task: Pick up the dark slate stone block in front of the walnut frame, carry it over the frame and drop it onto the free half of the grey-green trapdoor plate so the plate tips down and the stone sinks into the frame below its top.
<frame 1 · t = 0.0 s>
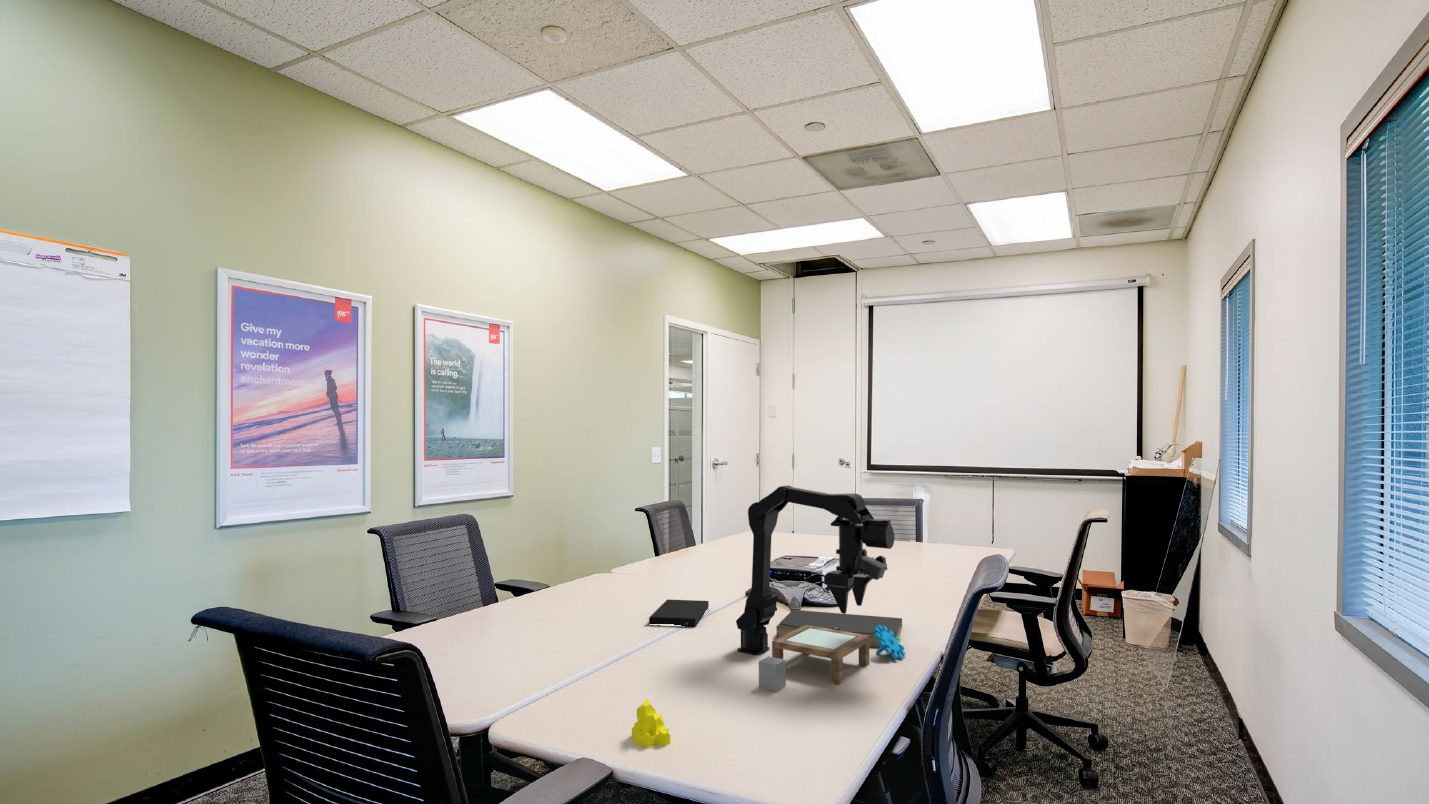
hand: (851, 609, 172), 15 cm above the table, tool pointing down, fingers open, 9 cm apart
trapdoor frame: (821, 666, 174), on the table
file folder: (840, 635, 204), on the table
yellow lumpy pyramid: (650, 741, 133), on the table
stone block: (772, 687, 160), on the table
trapdoor: (821, 640, 174), point 7 cm above the table, hinge at 0.0°
gear: (890, 657, 182), on the table
external hard drive: (680, 618, 222), on the table
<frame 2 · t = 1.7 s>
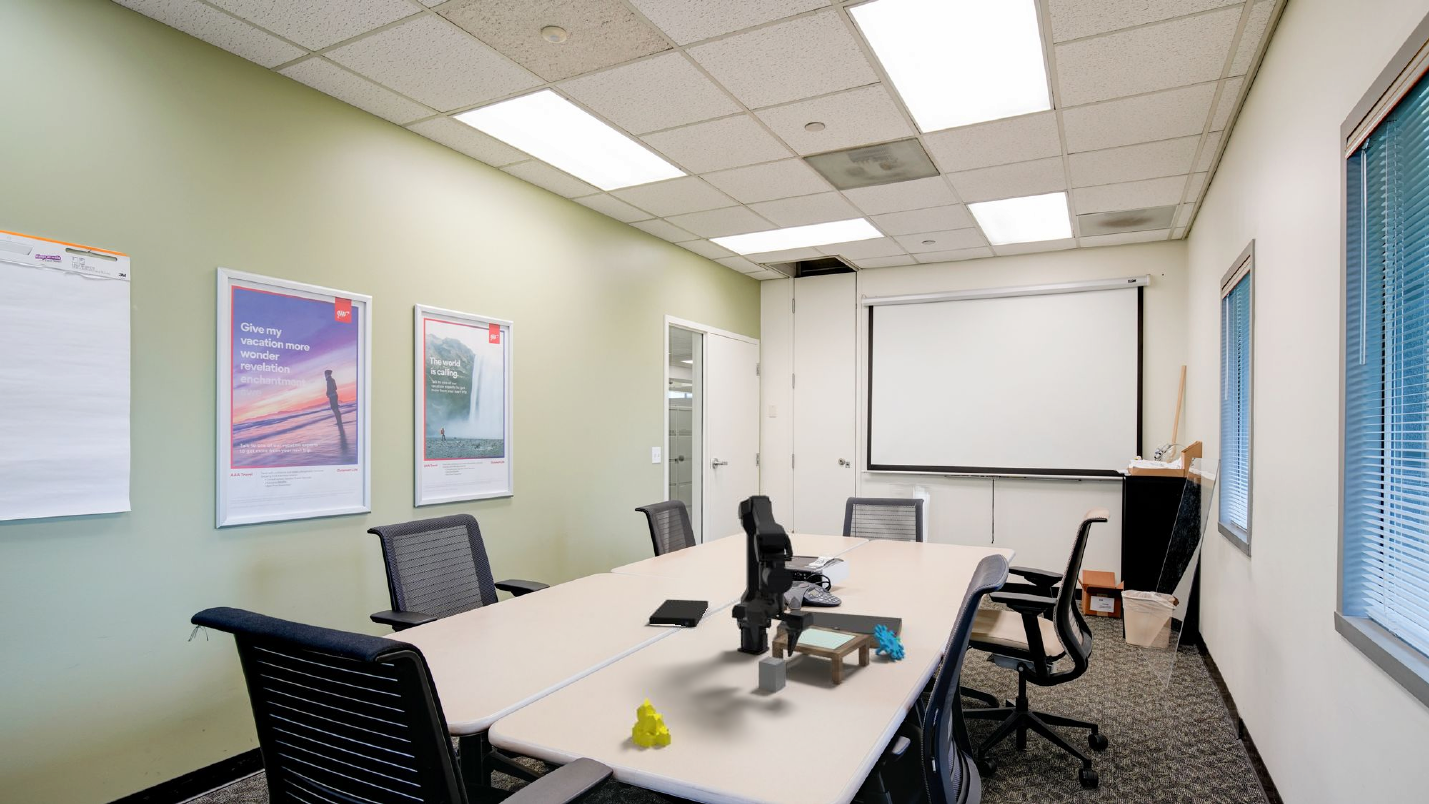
hand: (772, 653, 161), 8 cm above the table, tool pointing down, fingers open, 9 cm apart
nothing on the table moved.
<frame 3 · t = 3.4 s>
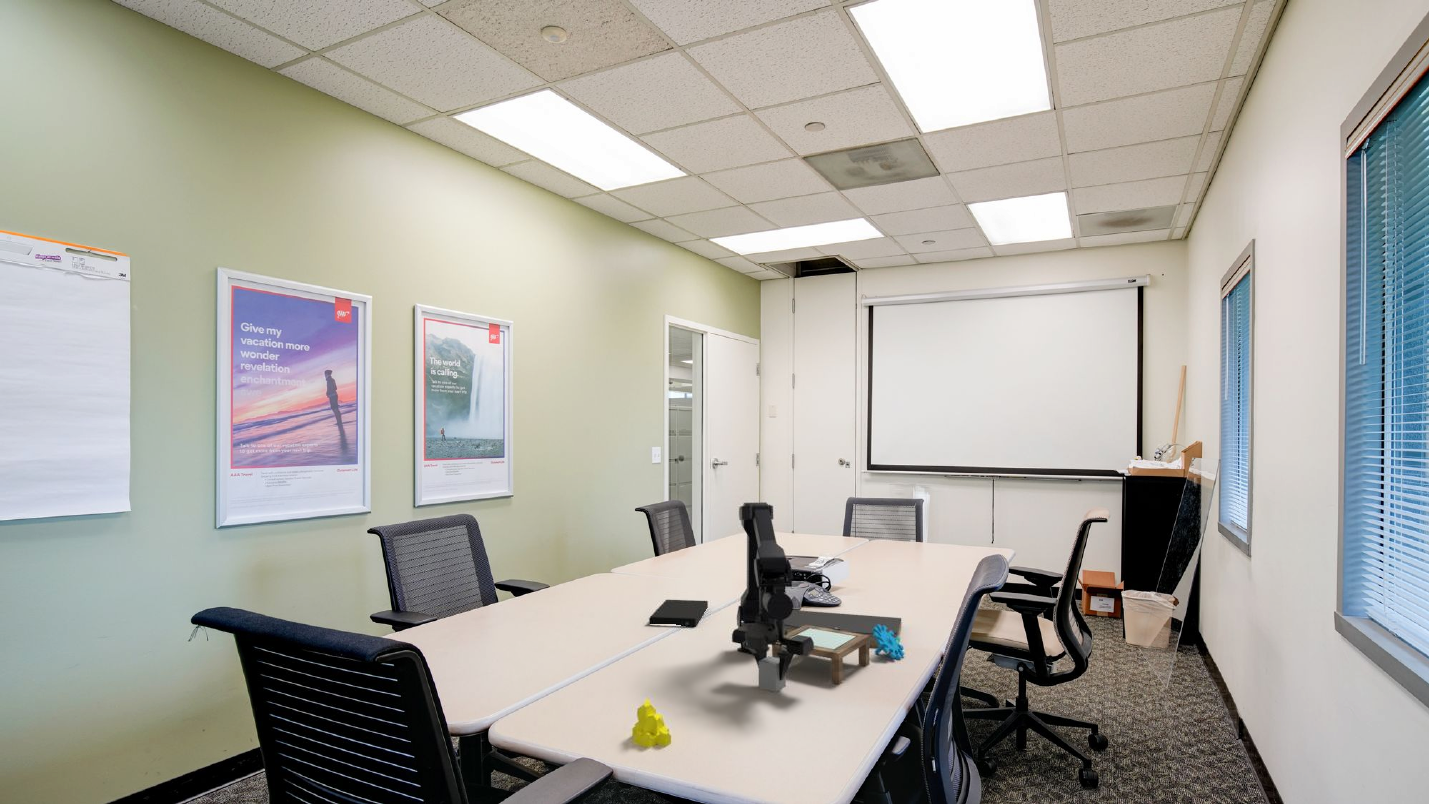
hand: (772, 677, 160), 2 cm above the table, tool pointing down, fingers closed on stone block, 4 cm apart
stone block: (772, 687, 160), on the table, touching gripper
everything else where it was.
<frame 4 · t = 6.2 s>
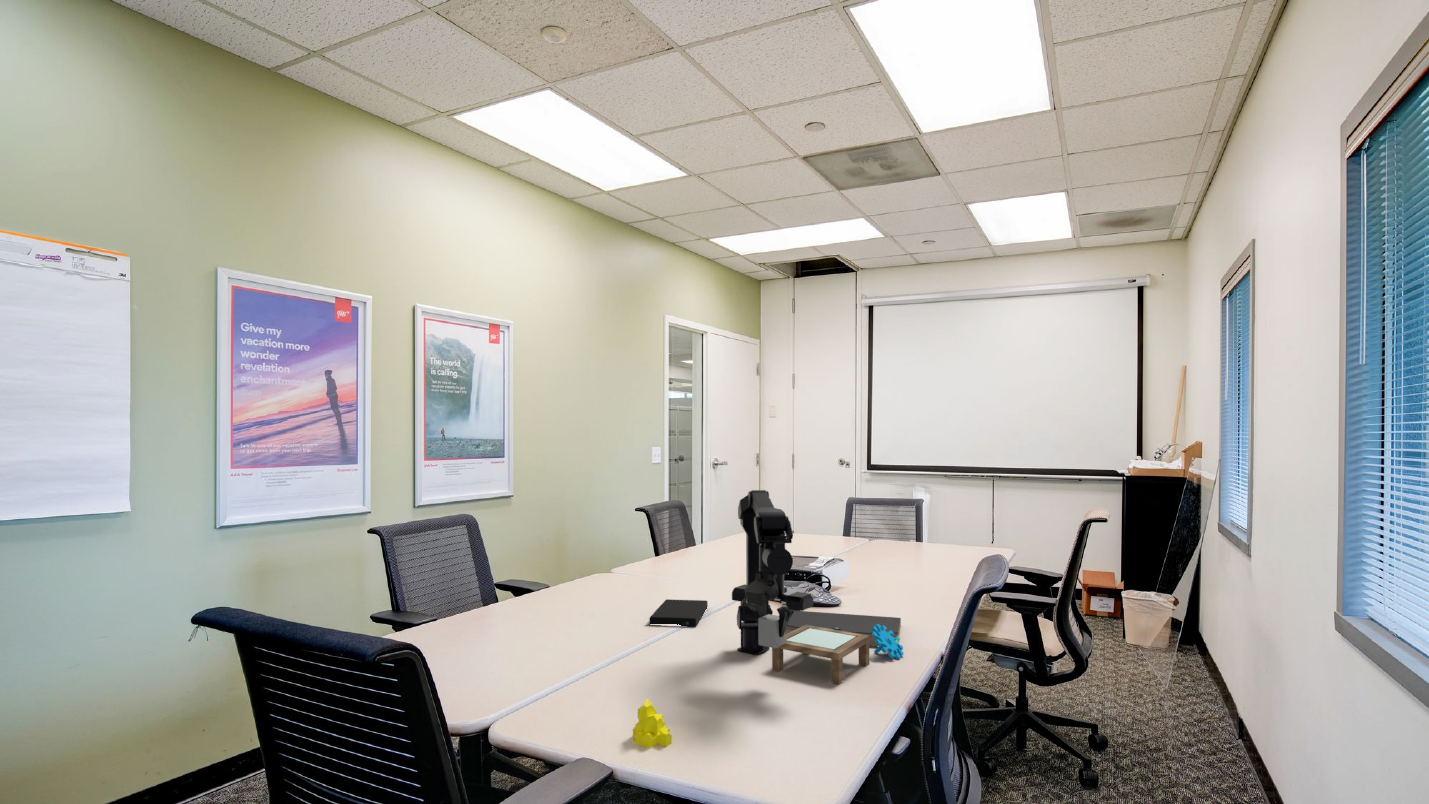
hand: (772, 635, 161), 12 cm above the table, tool pointing down, fingers closed on stone block, 4 cm apart
stone block: (772, 644, 160), point 10 cm above the table, touching gripper
everything else where it was.
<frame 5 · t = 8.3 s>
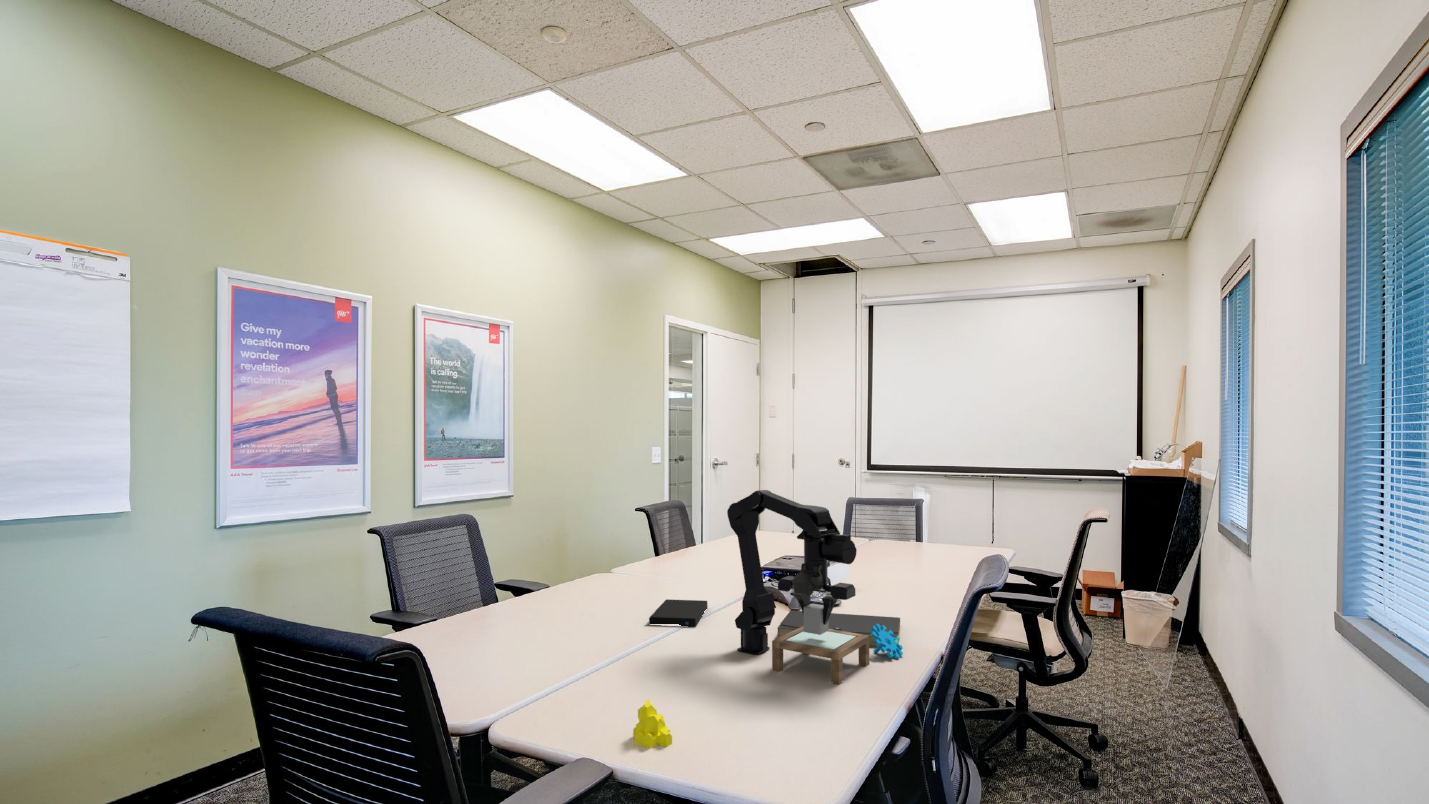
hand: (816, 622, 172), 11 cm above the table, tool pointing down, fingers closed on stone block, 4 cm apart
stone block: (816, 631, 172), point 9 cm above the table, touching gripper
everything else where it was.
when the fingers open (10 cm above the table, at t = 9.5 s): stone block drops 5 cm, resting on trapdoor.
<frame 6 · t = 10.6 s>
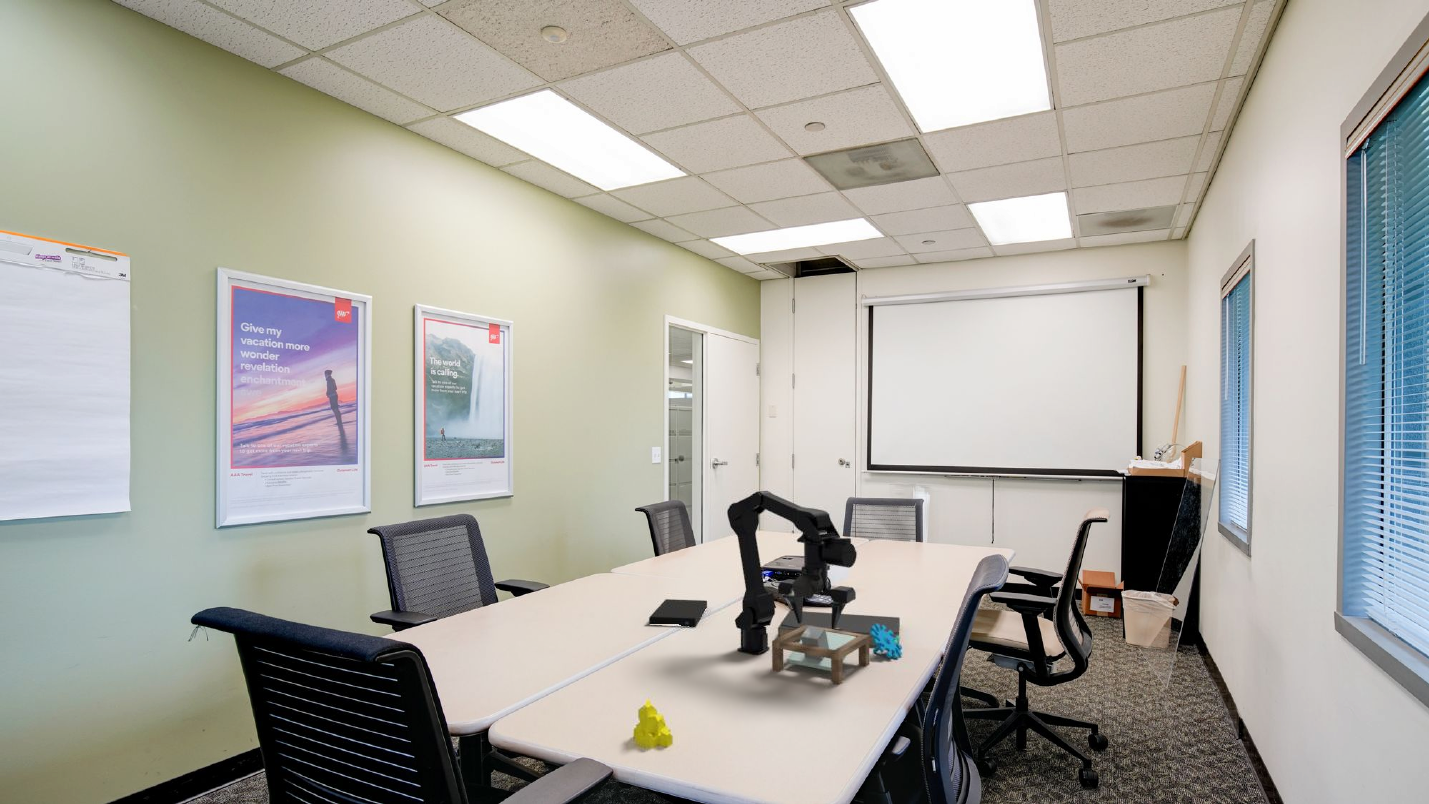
hand: (816, 626, 172), 10 cm above the table, tool pointing down, fingers open, 9 cm apart
stone block: (817, 653, 172), point 4 cm above the table, tilted 21°, touching trapdoor
trapdoor: (822, 649, 174), point 4 cm above the table, hinge at -20.9°, touching stone block
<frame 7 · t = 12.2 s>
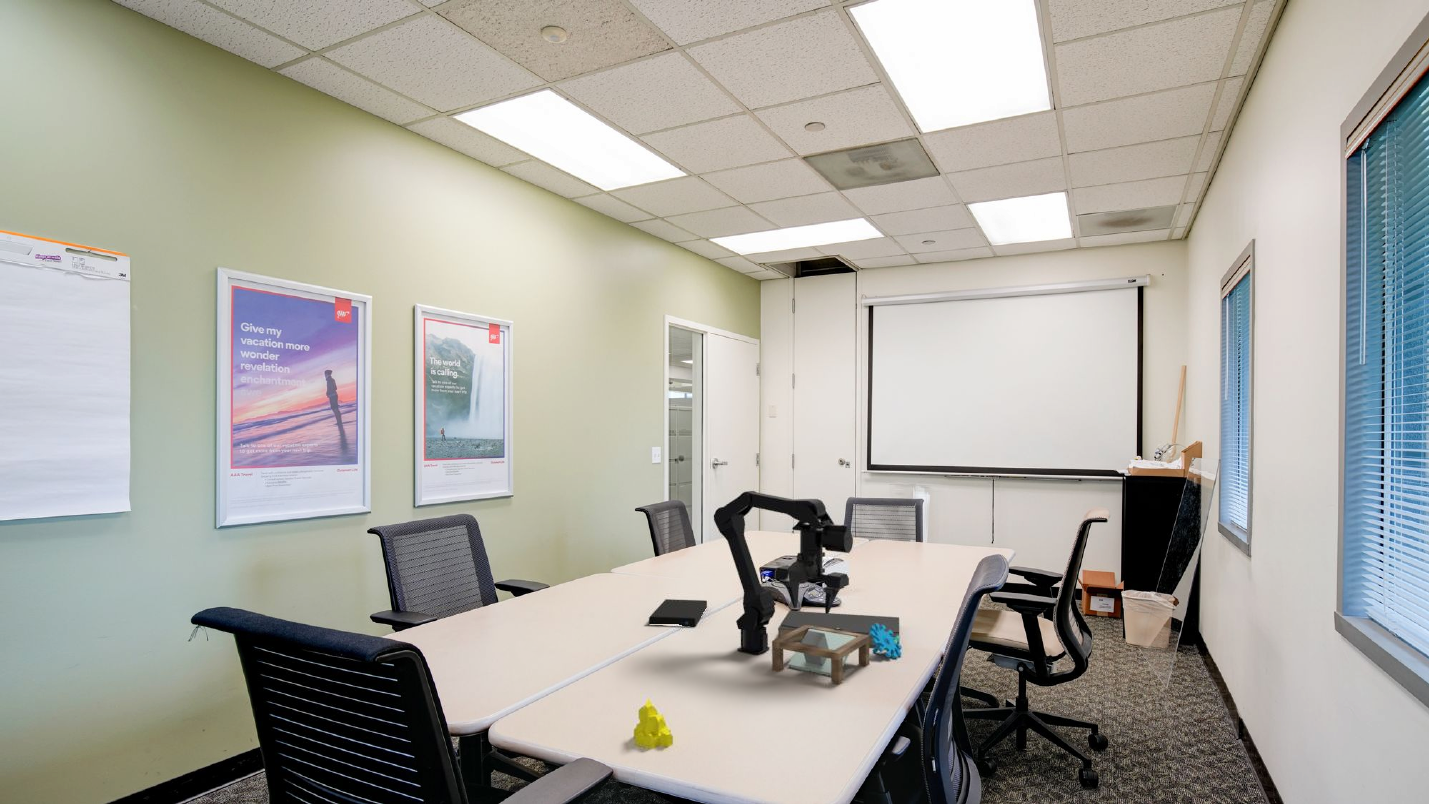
hand: (810, 610, 179), 13 cm above the table, tool pointing down, fingers open, 9 cm apart
stone block: (818, 657, 173), point 3 cm above the table, tilted 28°, touching trapdoor
trapdoor: (822, 651, 175), point 3 cm above the table, hinge at -27.8°, touching stone block
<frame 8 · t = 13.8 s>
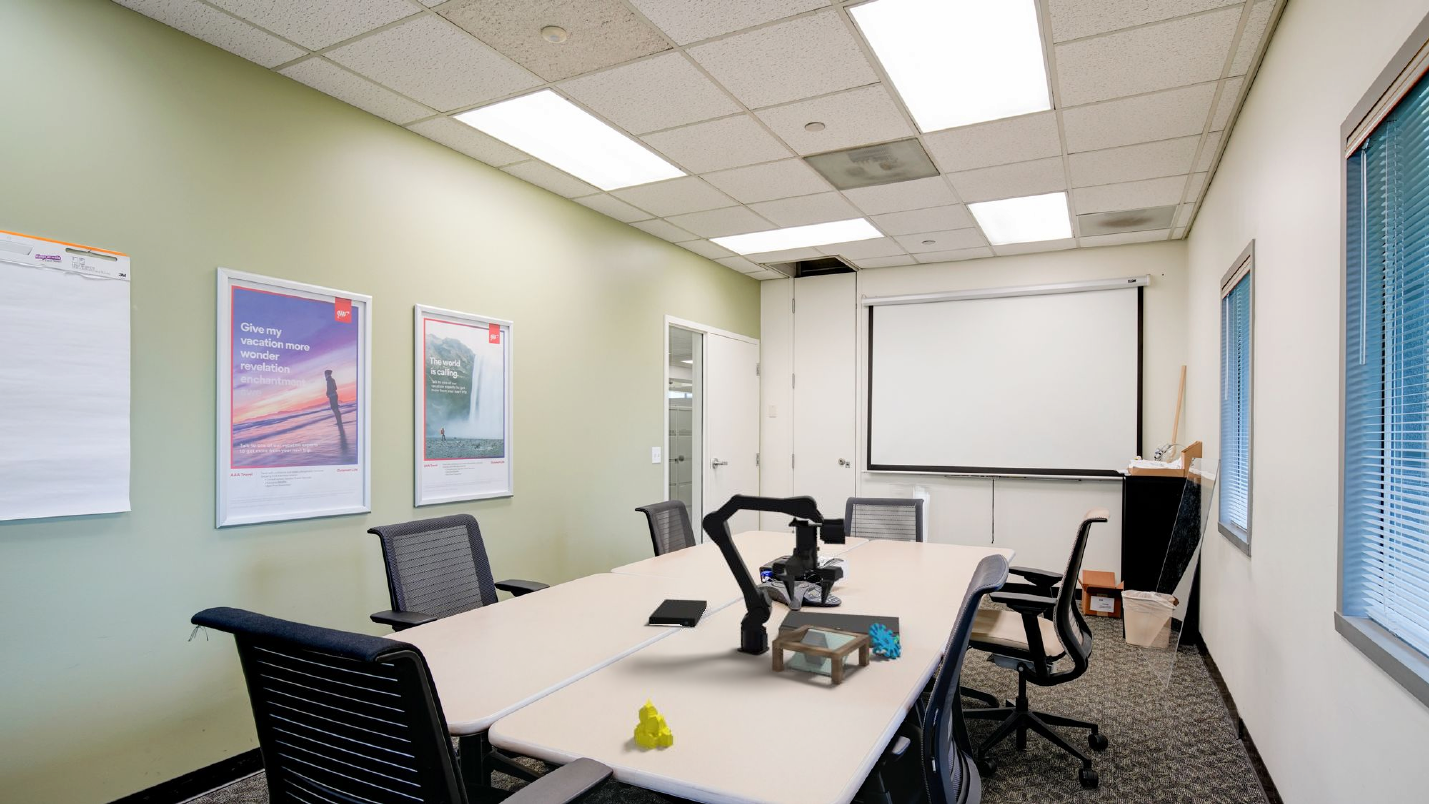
hand: (807, 603, 186), 13 cm above the table, tool pointing down, fingers open, 9 cm apart
at the end: stone block inside the target area on the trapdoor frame (0.7 cm from its centre), point 2.7 cm above the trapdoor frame's base; the gripper is holding nothing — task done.
